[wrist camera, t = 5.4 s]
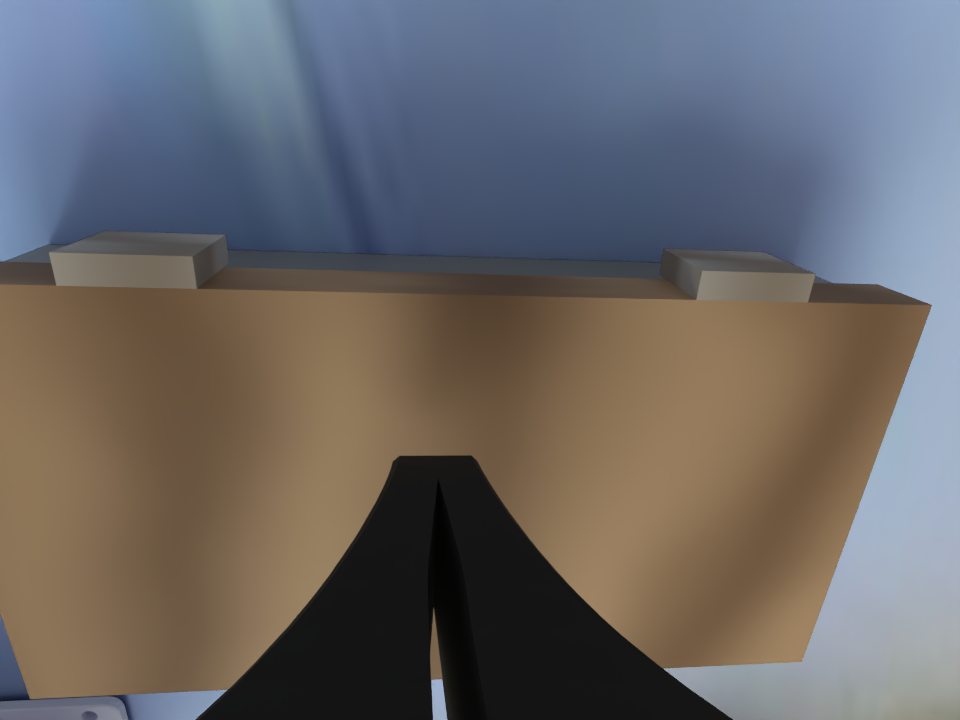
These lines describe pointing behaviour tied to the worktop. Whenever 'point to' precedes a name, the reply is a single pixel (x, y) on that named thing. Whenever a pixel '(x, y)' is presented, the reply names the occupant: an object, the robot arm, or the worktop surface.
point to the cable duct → (418, 264)
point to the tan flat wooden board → (421, 444)
